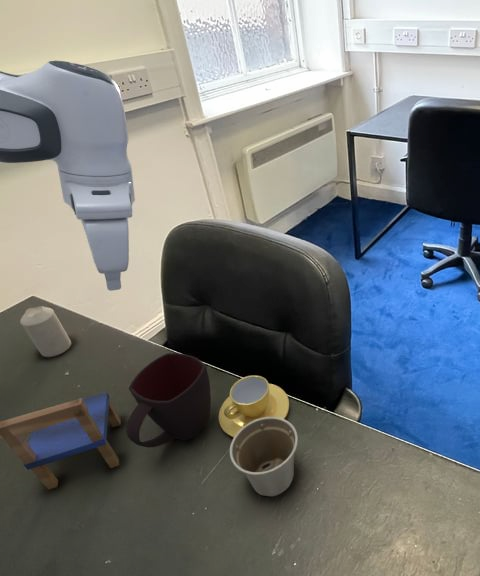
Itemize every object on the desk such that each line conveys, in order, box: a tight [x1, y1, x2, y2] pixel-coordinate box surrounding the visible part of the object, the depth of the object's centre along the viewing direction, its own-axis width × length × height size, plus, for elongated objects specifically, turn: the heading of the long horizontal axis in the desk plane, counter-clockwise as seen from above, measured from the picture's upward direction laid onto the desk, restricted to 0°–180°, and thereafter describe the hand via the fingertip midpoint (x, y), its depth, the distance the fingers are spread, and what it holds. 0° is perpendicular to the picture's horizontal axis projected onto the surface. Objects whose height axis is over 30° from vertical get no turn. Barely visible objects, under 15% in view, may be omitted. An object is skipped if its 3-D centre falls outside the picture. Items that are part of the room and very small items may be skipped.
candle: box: [19, 305, 72, 358], centre depth 88 cm, size 6×6×10 cm
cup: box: [218, 374, 290, 438], centre depth 75 cm, size 12×12×5 cm
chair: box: [0, 391, 122, 490], centre depth 67 cm, size 10×10×15 cm
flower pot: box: [229, 417, 299, 497], centre depth 65 cm, size 9×9×9 cm
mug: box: [125, 352, 212, 448], centre depth 70 cm, size 10×14×12 cm
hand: (111, 275), depth 70 cm, fingers open, 8 cm apart
